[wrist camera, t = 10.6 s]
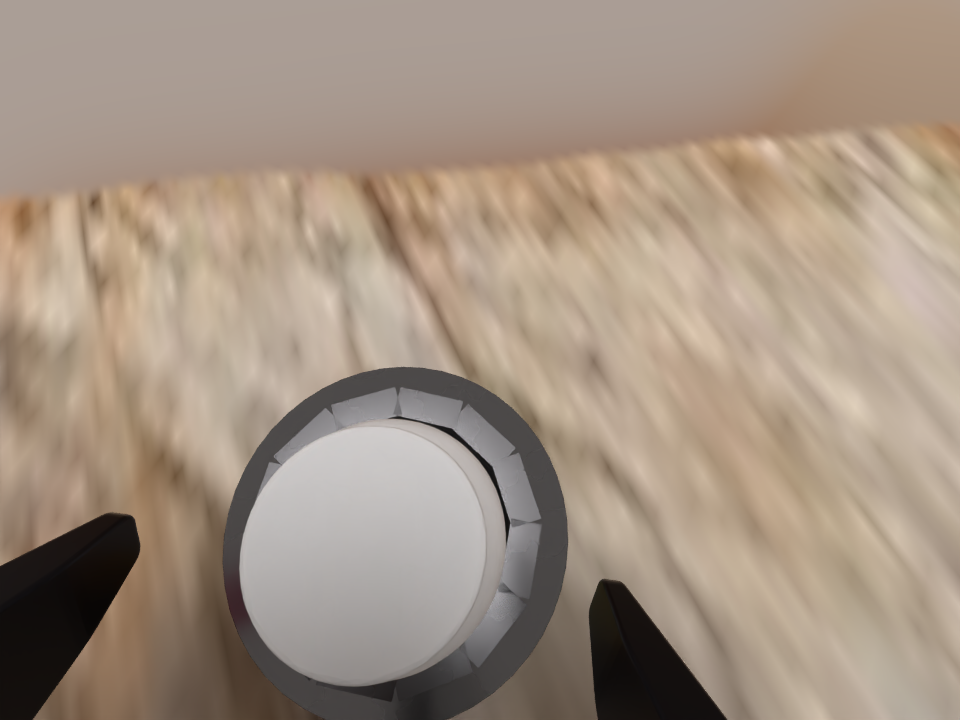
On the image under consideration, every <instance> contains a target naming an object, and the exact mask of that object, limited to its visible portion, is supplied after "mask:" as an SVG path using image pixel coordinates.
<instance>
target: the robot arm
mask: <svg viewBox="0 0 960 720" xmlns="http://www.w3.org/2000/svg"><path fill="white" fill-rule="evenodd" d="M139 552H140V541H139V537H138V532H137V527H136V523H135V519H134V518H133V517H132V516H131V515H128V514H121V513H106V514H104V515H101V516H99V517H97V518H95V519H93V520H91V521H89V522H87V523H85V524H83V525H81V526H79V527H77V528H75V529H73V530H71V531H69V532H67V533H65V534H63V535H61V536H59V537H57V538H55V539H53V540H51V541H49V542H47V543H45V544H43V545H41V546H39V547H37V548H35V549H33V550H31V551H29V552H27V553H25V554H23V555H21V556H19V557H17V558H15V559H13V560H11V561H9V562H7V563H5V564H3V565H1V566H0V720H33V718H34V717H35V716H36V714H37V713H38V711H39V710H40V709H41V707H42V706H43V704H44V703H45V702H46V700H47V699H48V697H49V696H50V695H51V693H52V692H53V690H54V689H55V688H56V686H57V685H58V683H59V682H60V681H61V679H62V678H63V676H64V675H65V674H66V672H67V671H68V669H69V668H70V667H71V665H72V664H73V662H74V661H75V660H76V658H77V657H78V655H79V654H80V653H81V651H82V650H83V648H84V647H85V645H86V644H87V642H88V641H89V639H90V638H91V636H92V635H93V633H94V631H95V630H96V628H97V627H98V625H99V623H100V621H101V620H102V618H103V616H104V615H105V613H106V611H107V610H108V608H109V606H110V604H111V603H112V601H113V599H114V598H115V596H116V594H117V592H118V591H119V589H120V587H121V586H122V584H123V582H124V581H125V579H126V577H127V575H128V574H129V572H130V570H131V569H132V567H133V565H134V563H135V562H136V560H137V558H138V555H139ZM589 626H590V640H591V653H592V667H593V680H594V693H595V704H596V711H597V717H598V720H727V718H726V717H725V716H724V714H723V713H722V712H721V710H720V709H719V708H718V707H717V705H716V704H715V703H714V701H713V700H712V699H711V697H710V696H709V695H708V693H707V692H706V691H705V689H704V688H703V687H702V686H701V684H700V683H699V682H698V680H697V679H696V678H695V676H694V675H693V674H692V672H691V671H690V670H689V668H688V667H687V666H686V665H685V663H684V662H683V661H682V659H681V658H680V657H679V655H678V654H677V653H676V651H675V650H674V649H673V647H672V646H671V645H670V644H669V642H668V641H667V640H666V638H665V637H664V636H663V634H662V633H661V632H660V630H659V629H658V628H657V626H656V625H655V624H654V623H653V621H652V620H651V619H650V617H649V616H648V615H647V613H646V612H645V611H644V609H643V608H642V607H641V605H640V604H639V603H638V601H637V600H636V599H635V598H634V596H633V595H632V594H631V592H630V591H629V590H628V588H627V587H626V586H625V585H624V584H623V583H622V582H620V581H616V580H608V579H602V580H601V581H600V582H599V584H598V586H597V589H596V592H595V594H594V597H593V600H592V603H591V605H590V610H589Z"/></svg>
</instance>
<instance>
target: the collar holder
mask: <svg viewBox="0 0 960 720" xmlns="http://www.w3.org/2000/svg"><path fill="white" fill-rule="evenodd" d="M379 419H402V420H409V421H415V422H420V423H423V424H426V425H429V426H431V427H434V428H436V429H439V430H441V431H443V432H445V433H447V434H448V435H450V436H451V437H453V438H454V439H456V440H457V441H459V442H460V443H461V444H463V445H464V446H465V447H466V448H467V449H468V450H469V451H470V452H471V453H472V454H473V455H474V456H475V457H476V458H477V459H478V460H479V462H480V463H481V464H482V466H483V467H484V469H485V470H486V471H487V473H488V475H489V477H490V478H491V480H492V482H493V484H494V486H495V488H496V491H497V494H498V496H499V499H500V503H501V506H502V510H503V514H504V520H505V531H506V551H505V560H504V567H503V571H502V576H501V580H500V583H499V586H498V589H497V592H496V594H495V596H494V599H493V601H492V603H491V605H490V607H489V609H488V611H487V612H486V614H485V616H484V618H483V619H482V621H481V622H480V623H479V625H478V626H477V628H476V629H475V630H474V631H473V633H472V634H471V635H470V636H469V637H468V639H467V640H466V641H465V642H464V643H463V644H462V645H461V646H459V647H458V648H457V649H456V650H455V651H454V652H452V653H451V654H450V655H448V656H447V657H445V658H444V659H442V660H441V661H439V662H438V663H436V664H435V665H433V666H431V667H429V668H427V669H426V670H423V671H421V672H419V673H417V674H414V675H411V676H408V677H405V678H401V679H397V680H392V681H388V682H384V683H379V684H375V685H369V686H355V687H353V686H338V685H332V684H328V683H324V682H320V681H316V680H314V679H312V678H309V677H307V676H305V675H303V674H301V673H299V672H297V671H295V670H293V669H292V668H290V667H289V666H288V665H286V664H285V663H284V662H282V661H281V660H280V659H279V658H278V657H277V656H276V655H275V654H274V653H273V652H272V651H271V650H270V649H269V648H268V647H267V646H266V644H265V643H264V642H263V640H262V639H261V637H260V636H259V634H258V632H257V631H256V629H255V627H254V625H253V623H252V621H251V619H250V617H249V614H248V612H247V610H246V607H245V603H244V600H243V595H242V590H241V583H240V571H239V566H240V551H241V545H242V539H243V534H244V531H245V527H246V524H247V521H248V518H249V515H250V512H251V510H252V508H253V506H254V504H255V502H256V500H257V498H258V496H259V494H260V493H261V491H262V489H263V488H264V486H265V485H266V484H267V482H268V481H269V480H270V478H271V477H272V476H273V474H274V473H275V472H276V471H277V470H278V469H279V468H280V467H281V466H282V465H283V464H284V463H285V462H286V461H287V460H288V459H289V458H290V457H291V456H293V455H294V454H295V453H296V452H298V451H299V450H301V449H302V448H304V447H305V446H307V445H308V444H310V443H312V442H313V441H315V440H317V439H319V438H321V437H323V436H326V435H328V434H331V433H333V432H336V431H339V430H341V429H343V428H346V427H348V426H351V425H354V424H357V423H361V422H366V421H370V420H379ZM567 548H568V532H567V517H566V510H565V504H564V498H563V494H562V491H561V487H560V484H559V480H558V477H557V475H556V472H555V470H554V468H553V465H552V463H551V460H550V458H549V456H548V454H547V453H546V451H545V449H544V447H543V446H542V444H541V442H540V441H539V439H538V438H537V436H536V435H535V434H534V432H533V431H532V430H531V428H530V427H529V426H528V424H527V423H526V422H525V421H524V420H523V419H522V418H521V417H520V416H519V415H518V414H517V413H516V412H515V411H514V410H513V409H512V408H511V407H510V406H509V405H508V404H506V403H505V402H504V401H503V400H501V399H500V398H499V397H497V396H496V395H495V394H493V393H491V392H490V391H488V390H486V389H485V388H483V387H481V386H480V385H478V384H476V383H473V382H471V381H469V380H467V379H464V378H462V377H459V376H456V375H453V374H449V373H446V372H443V371H438V370H432V369H426V368H413V367H396V368H384V369H378V370H373V371H368V372H363V373H360V374H357V375H354V376H351V377H348V378H345V379H342V380H340V381H338V382H335V383H333V384H331V385H329V386H327V387H325V388H323V389H321V390H320V391H318V392H316V393H315V394H313V395H312V396H310V397H308V398H307V399H305V400H304V401H303V402H301V403H300V404H299V405H298V406H296V407H295V408H294V409H293V410H291V411H290V412H289V413H288V414H287V415H286V416H285V417H284V418H283V419H282V420H281V421H280V422H279V423H278V424H277V425H276V426H275V427H274V428H273V429H272V430H271V431H270V433H269V434H268V435H267V436H266V438H265V439H264V440H263V442H262V443H261V444H260V445H259V447H258V448H257V450H256V451H255V453H254V455H253V456H252V458H251V460H250V461H249V463H248V465H247V466H246V468H245V470H244V472H243V475H242V477H241V479H240V481H239V484H238V486H237V488H236V490H235V494H234V497H233V500H232V503H231V506H230V510H229V513H228V518H227V524H226V529H225V535H224V549H223V571H224V584H225V590H226V595H227V599H228V604H229V609H230V612H231V615H232V618H233V621H234V623H235V626H236V629H237V632H238V634H239V636H240V638H241V640H242V642H243V644H244V645H245V647H246V649H247V651H248V653H249V655H250V657H251V658H252V659H253V661H254V662H255V663H256V665H257V666H258V667H259V669H260V670H261V671H262V673H263V674H264V675H265V677H266V678H267V679H268V680H269V681H270V682H271V683H273V684H274V685H275V686H276V687H277V688H278V689H279V690H280V691H281V692H282V693H283V694H284V695H285V696H287V697H288V698H289V699H291V700H292V701H294V702H295V703H296V704H298V705H299V706H301V707H302V708H303V709H305V710H307V711H309V712H311V713H313V714H315V715H317V716H319V717H321V718H323V719H326V720H446V719H449V718H451V717H454V716H456V715H458V714H460V713H462V712H464V711H466V710H468V709H470V708H472V707H473V706H475V705H476V704H478V703H479V702H481V701H482V700H484V699H485V698H487V697H488V696H489V695H491V694H492V693H494V692H495V691H496V690H497V689H498V688H499V687H500V686H502V685H503V684H504V683H505V682H506V681H507V680H508V679H509V678H510V677H512V676H513V674H514V673H515V672H516V671H517V670H518V669H519V667H520V666H521V665H522V664H523V663H524V661H525V660H526V659H527V658H528V657H529V655H530V654H531V652H532V651H533V649H534V648H535V646H536V645H537V643H538V641H539V640H540V638H541V637H542V635H543V633H544V631H545V629H546V627H547V625H548V623H549V621H550V619H551V617H552V615H553V612H554V609H555V606H556V604H557V601H558V598H559V595H560V592H561V588H562V583H563V578H564V574H565V569H566V560H567Z"/></svg>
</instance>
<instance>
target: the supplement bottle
mask: <svg viewBox="0 0 960 720" xmlns="http://www.w3.org/2000/svg"><path fill="white" fill-rule="evenodd" d="M505 551H506V531H505V520H504V514H503V510H502V506H501V503H500V499H499V496H498V494H497V491H496V488H495V486H494V484H493V482H492V480H491V478H490V477H489V475H488V473H487V471H486V470H485V469H484V467H483V466H482V464H481V463H480V462H479V460H478V459H477V458H476V457H475V456H474V455H473V454H472V453H471V452H470V451H469V450H468V449H467V448H466V447H465V446H464V445H463V444H461V443H460V442H459V441H457V440H456V439H454V438H453V437H451V436H450V435H448V434H447V433H445V432H443V431H441V430H439V429H436V428H434V427H431V426H429V425H426V424H423V423H420V422H415V421H409V420H402V419H379V420H370V421H366V422H361V423H357V424H354V425H351V426H348V427H346V428H343V429H341V430H339V431H336V432H333V433H331V434H328V435H326V436H323V437H321V438H319V439H317V440H315V441H313V442H312V443H310V444H308V445H307V446H305V447H304V448H302V449H301V450H299V451H298V452H296V453H295V454H294V455H293V456H291V457H290V458H289V459H288V460H287V461H286V462H285V463H284V464H283V465H282V466H281V467H280V468H279V469H278V470H277V471H276V472H275V473H274V474H273V476H272V477H271V478H270V480H269V481H268V482H267V484H266V485H265V486H264V488H263V489H262V491H261V493H260V494H259V496H258V498H257V500H256V502H255V504H254V506H253V508H252V510H251V512H250V515H249V518H248V521H247V524H246V527H245V531H244V534H243V539H242V545H241V551H240V566H239V571H240V583H241V590H242V595H243V600H244V603H245V607H246V610H247V612H248V614H249V617H250V619H251V621H252V623H253V625H254V627H255V629H256V631H257V632H258V634H259V636H260V637H261V639H262V640H263V642H264V643H265V644H266V646H267V647H268V648H269V649H270V650H271V651H272V652H273V653H274V654H275V655H276V656H277V657H278V658H279V659H280V660H281V661H282V662H284V663H285V664H286V665H288V666H289V667H290V668H292V669H293V670H295V671H297V672H299V673H301V674H303V675H305V676H307V677H309V678H312V679H314V680H316V681H320V682H324V683H328V684H332V685H338V686H353V687H355V686H369V685H375V684H379V683H384V682H388V681H392V680H397V679H401V678H405V677H408V676H411V675H414V674H417V673H419V672H421V671H423V670H426V669H427V668H429V667H431V666H433V665H435V664H436V663H438V662H439V661H441V660H442V659H444V658H445V657H447V656H448V655H450V654H451V653H452V652H454V651H455V650H456V649H457V648H458V647H459V646H461V645H462V644H463V643H464V642H465V641H466V640H467V639H468V637H469V636H470V635H471V634H472V633H473V631H474V630H475V629H476V628H477V626H478V625H479V623H480V622H481V621H482V619H483V618H484V616H485V614H486V612H487V611H488V609H489V607H490V605H491V603H492V601H493V599H494V596H495V594H496V592H497V589H498V586H499V583H500V580H501V576H502V571H503V567H504V560H505Z"/></svg>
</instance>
